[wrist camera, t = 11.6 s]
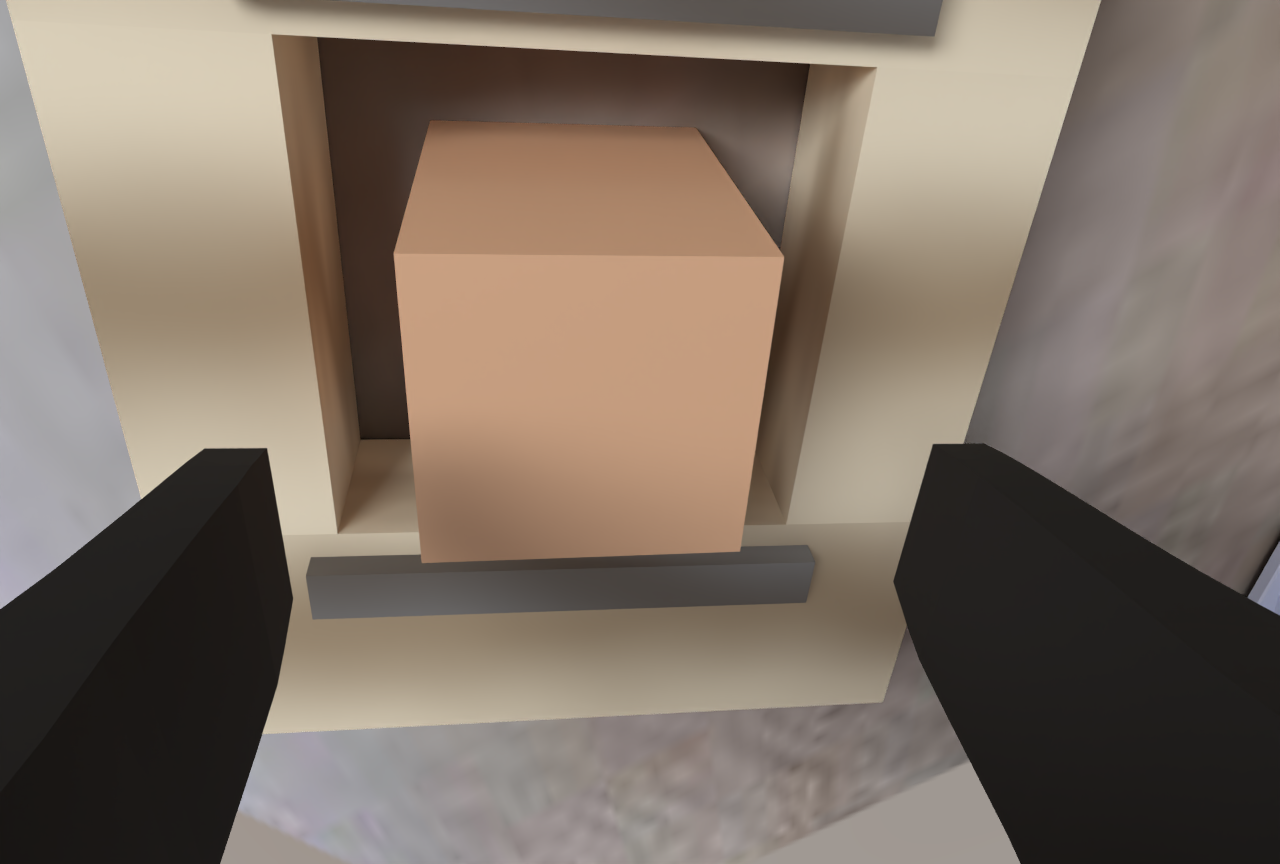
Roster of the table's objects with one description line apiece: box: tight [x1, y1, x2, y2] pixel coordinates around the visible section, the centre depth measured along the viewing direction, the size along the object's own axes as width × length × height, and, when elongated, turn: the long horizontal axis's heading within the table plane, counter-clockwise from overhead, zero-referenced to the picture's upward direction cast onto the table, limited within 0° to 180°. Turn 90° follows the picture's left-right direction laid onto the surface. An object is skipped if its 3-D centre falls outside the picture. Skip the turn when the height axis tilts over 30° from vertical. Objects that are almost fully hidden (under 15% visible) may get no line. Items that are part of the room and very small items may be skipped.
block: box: [394, 120, 784, 563], centre depth 14 cm, size 4×4×6 cm
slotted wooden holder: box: [6, 0, 1101, 734], centre depth 15 cm, size 18×14×4 cm
